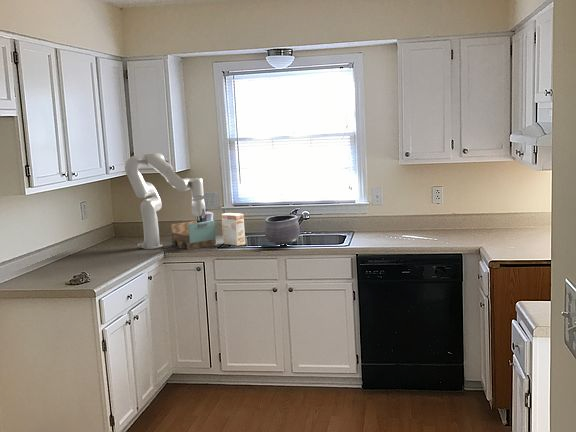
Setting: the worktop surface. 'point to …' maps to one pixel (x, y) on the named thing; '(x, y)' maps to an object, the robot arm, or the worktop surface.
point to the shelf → (186, 237)
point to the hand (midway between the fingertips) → (200, 226)
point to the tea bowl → (282, 229)
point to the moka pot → (208, 216)
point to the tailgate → (202, 231)
